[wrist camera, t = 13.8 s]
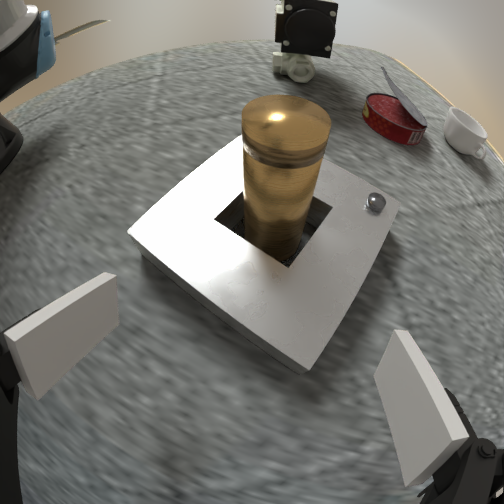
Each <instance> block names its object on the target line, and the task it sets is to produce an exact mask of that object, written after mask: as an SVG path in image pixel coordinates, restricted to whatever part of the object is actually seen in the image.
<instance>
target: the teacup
mask: <svg viewBox="0 0 504 504" xmlns="http://www.w3.org/2000/svg"><path fill="white" fill-rule="evenodd" d="M443 131H444V135H445V138H446V140H447V142H448V143H449V144H450V145H451V146H452V147H453V148H454V149H455V150H456V151H458V152H460V153H462V154H466V155H472V156H474V157H475V158H477V159H480V160H482V159H484V158H485V156H486V148H485V147H484V145H483V143H484V142H485V141H486V139H487V133H486V131H485V130H484V128H483V127H482V126H481V125H480V124H479V123H478V122H477V121H476V120H475V119H474V118H473V117H471V116H470V115H469V114H467V113H466V112H464V111H463V110H460V109H459V108H456V107H450V109H449V112H448V115H447V117H446V120H445V123H444V127H443ZM480 148H482V149H483V155H482V156H481V157H478V156H477V155H476V154H475V153H476V152H477V151H478V150H479V149H480Z"/></svg>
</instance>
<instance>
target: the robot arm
mask: <svg viewBox="0 0 504 504" xmlns="http://www.w3.org/2000/svg"><path fill="white" fill-rule="evenodd" d="M55 61H56V51H55V42H54V35H53V28H52V21H51V15H50V12H49V11H48V10H47V11H43V12H41V13H40V14H39V12H38V9H37V7H36V6H34V5H25V4H24V1H23V0H0V102H1V101H3V100H4V99H5V98H7V97H8V96H9V95H11V94H12V93H14V92H15V91H16V90H18V89H20V88H21V87H23V86H24V85H26V84H27V83H29V82H30V81H32V80H34V79H37V78H38V77H39V75H41V74H42V73H44V72H46V71H47V70H49V69H50V68H51V67H52V66H53V65H54V63H55ZM22 142H23V136H22V134H21V132H20V130H19V129H18V128H17V127H16V126H15V125H13V124H12V123H11V122H10V121H9V120H7V119H6V118H5V117H4V116H3V115H2V114H1V113H0V173H1V172H2V171H3V170H4V168H5V167H6V166H7V165H8V164H9V163H10V161H11V160H12V159H13V157H14V156H15V155H16V153H17V152H18V150H19V148H20V147H21V145H22ZM118 325H119V312H118V297H117V276H116V275H113V274H109V273H106V272H104V273H102V274H100V275H99V276H97V277H95V278H93V279H91V280H90V281H88V282H86V283H84V284H83V285H81V286H79V287H77V288H76V289H74V290H72V291H71V292H69V293H67V294H65V295H64V296H62V297H60V298H59V299H57V300H55V301H54V302H52V303H50V304H49V305H47V306H45V307H44V308H41V309H38V310H35V311H34V312H32V313H31V314H29V315H28V316H26V317H24V318H23V319H22V320H19V321H18V322H16V323H15V324H13V325H12V326H10V327H8V328H7V329H5V330H4V331H2V332H1V333H0V504H23V501H22V495H21V488H20V480H19V471H18V456H17V414H18V399H19V387H18V385H17V384H18V383H19V382H20V381H22V384H23V386H24V388H25V390H26V392H27V393H29V394H30V395H31V396H33V397H34V398H35V399H37V400H39V399H40V398H41V397H42V396H43V395H44V394H45V393H46V392H47V391H48V390H49V389H50V388H51V387H52V386H53V385H54V384H56V383H57V382H58V381H59V380H60V379H61V378H62V377H63V376H64V375H65V374H66V373H67V372H68V371H69V370H70V369H71V368H72V367H73V366H74V365H75V364H77V363H78V362H79V361H80V360H81V359H82V358H83V357H84V356H85V355H86V354H87V353H88V352H89V351H90V350H92V349H93V348H94V347H95V346H96V345H97V344H98V343H99V342H100V341H101V340H102V339H104V338H105V337H106V336H107V335H108V334H109V333H110V332H111V331H112V330H114V329H115V328H116V327H117V326H118ZM374 379H375V382H376V385H377V388H378V391H379V394H380V397H381V401H382V404H383V407H384V410H385V413H386V417H387V420H388V423H389V427H390V430H391V434H392V437H393V441H394V444H395V448H396V452H397V456H398V459H399V463H400V467H401V471H402V476H403V480H404V484H405V487H409V486H414V485H419V484H423V483H424V482H425V481H426V480H427V479H428V478H429V477H431V476H433V479H434V482H432V483H431V484H430V485H429V486H428V487H426V488H425V489H424V490H423V491H422V492H420V493H419V495H418V496H417V497H420V496H422V495H423V494H424V493H425V495H424V497H423V498H422V500H421V502H420V504H504V449H497V448H496V446H495V445H494V444H493V443H492V442H491V441H490V440H488V439H485V438H479V439H478V438H477V436H476V434H475V432H474V430H473V428H472V426H471V424H470V422H469V420H468V419H467V417H466V415H465V414H463V412H464V411H463V410H462V408H461V407H460V404H459V402H458V401H457V399H456V397H455V396H454V395H453V394H452V393H451V392H450V391H449V390H448V389H447V388H443V387H442V385H441V383H440V381H439V380H438V378H437V376H436V375H435V373H434V371H433V370H432V368H431V366H430V365H429V363H428V362H427V360H426V358H425V357H424V355H423V354H422V352H421V350H420V349H419V347H418V346H417V344H416V343H415V341H414V340H413V338H412V337H411V335H410V334H409V332H408V331H404V330H395V329H394V331H393V333H392V336H391V338H390V341H389V343H388V345H387V348H386V350H385V352H384V354H383V357H382V359H381V361H380V363H379V365H378V367H377V370H376V372H375V374H374ZM502 487H503V493H502V494H501V495H500V496H499V497H497V498H496V492H497V491H498V490H500V489H501V488H502Z"/></svg>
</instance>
